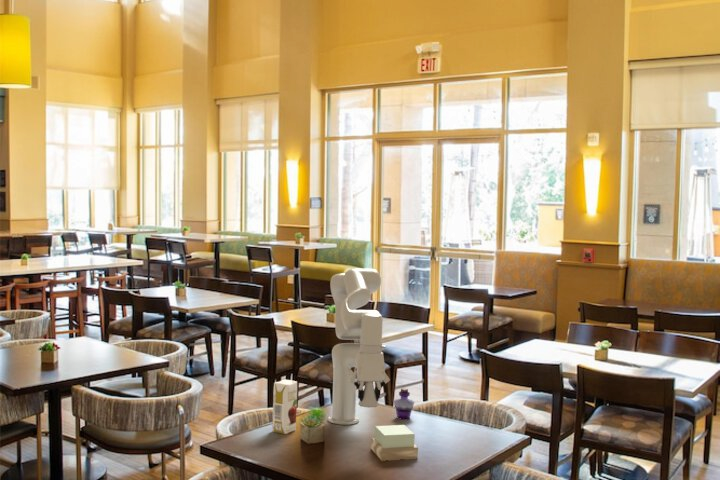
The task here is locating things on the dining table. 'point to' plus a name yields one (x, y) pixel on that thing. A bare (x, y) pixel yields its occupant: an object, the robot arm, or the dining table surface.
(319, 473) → the dining table surface
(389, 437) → the sage top block
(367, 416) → the dining table surface
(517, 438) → the dining table surface
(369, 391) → the flask
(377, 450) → the birch base block
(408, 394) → the potion bottle
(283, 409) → the juice carton
